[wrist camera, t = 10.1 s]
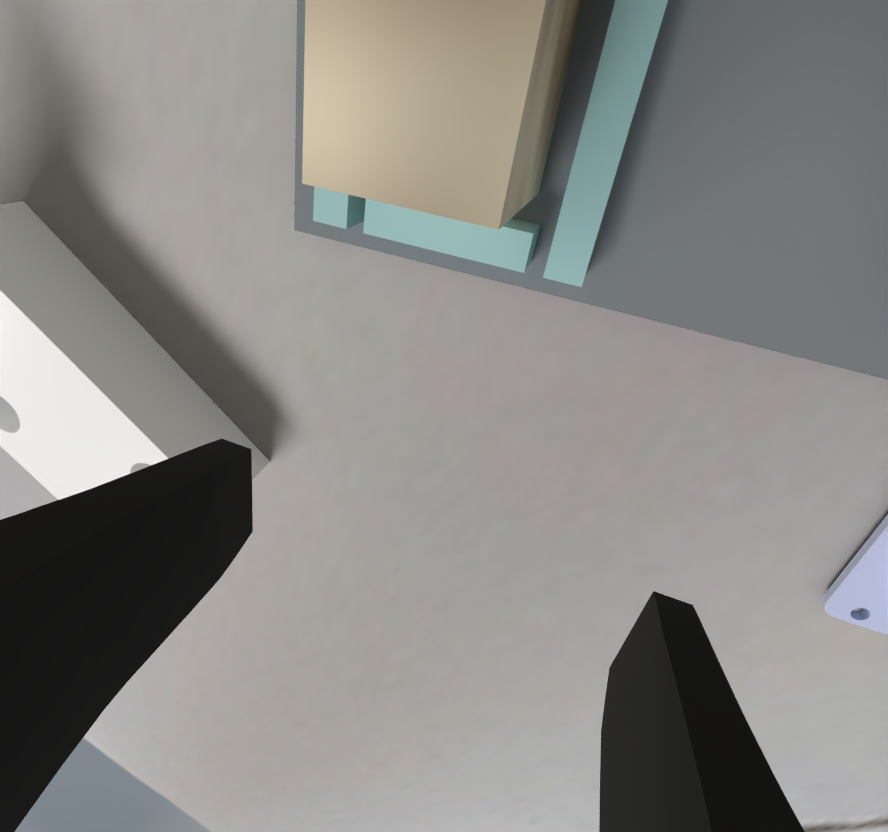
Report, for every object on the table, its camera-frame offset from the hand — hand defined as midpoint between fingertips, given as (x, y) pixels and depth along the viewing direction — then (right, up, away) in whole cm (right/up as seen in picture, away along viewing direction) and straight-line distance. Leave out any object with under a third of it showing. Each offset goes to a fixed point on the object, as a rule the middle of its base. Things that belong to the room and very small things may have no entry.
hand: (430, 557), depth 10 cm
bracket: (-13, +4, +14) cm, 20 cm away
